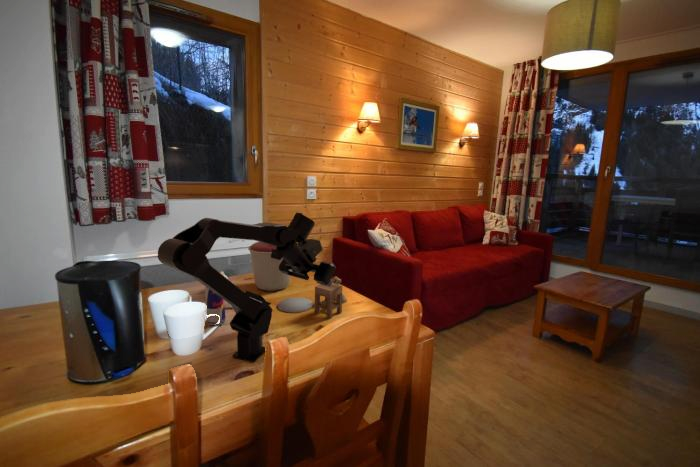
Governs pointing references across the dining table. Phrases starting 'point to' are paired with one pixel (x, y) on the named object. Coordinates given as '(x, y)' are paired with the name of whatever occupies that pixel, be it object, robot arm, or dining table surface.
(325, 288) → the stool
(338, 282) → the chocolate bunny
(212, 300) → the energy drink
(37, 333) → the dining table surface
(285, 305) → the mat
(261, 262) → the canister
